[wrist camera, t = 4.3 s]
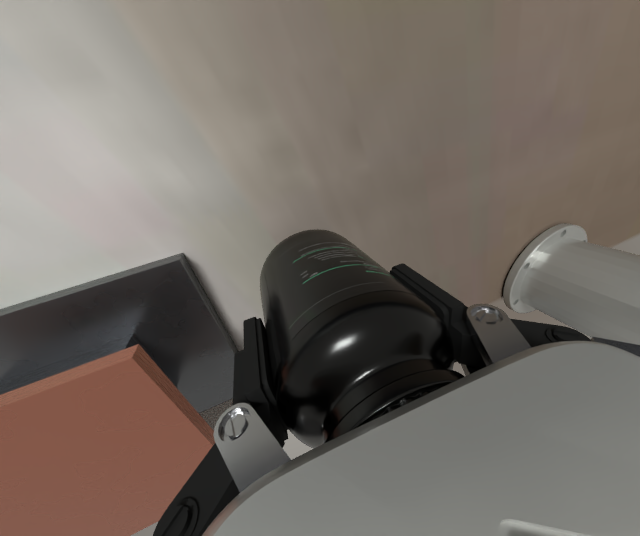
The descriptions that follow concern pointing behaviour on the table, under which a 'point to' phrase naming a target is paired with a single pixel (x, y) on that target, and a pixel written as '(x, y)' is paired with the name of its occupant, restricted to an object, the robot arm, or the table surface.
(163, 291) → the stand
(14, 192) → the table surface
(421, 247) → the table surface
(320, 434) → the supplement bottle
